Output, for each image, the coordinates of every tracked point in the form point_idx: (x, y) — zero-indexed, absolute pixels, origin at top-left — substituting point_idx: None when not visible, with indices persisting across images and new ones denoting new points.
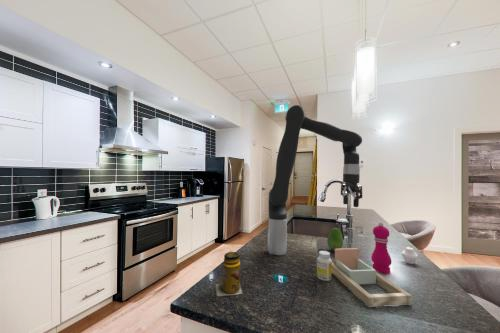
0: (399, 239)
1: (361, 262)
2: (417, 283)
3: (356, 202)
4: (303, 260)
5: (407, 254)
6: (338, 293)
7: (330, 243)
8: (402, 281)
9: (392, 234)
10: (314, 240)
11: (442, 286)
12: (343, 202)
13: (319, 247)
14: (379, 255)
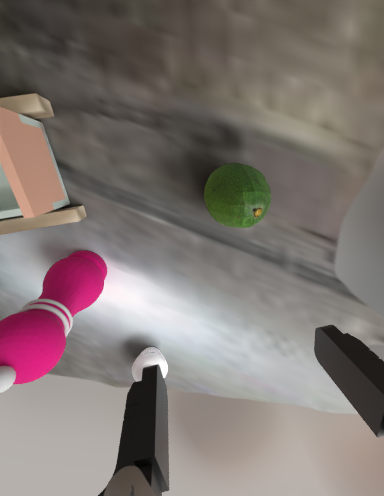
0: (307, 400)
1: (18, 208)
2: None
3: (125, 429)
4: (112, 14)
5: (138, 364)
6: None
7: (217, 169)
8: (29, 288)
9: (347, 402)
10: (332, 144)
11: None
12: (338, 334)
13: (255, 140)
14: (45, 279)
